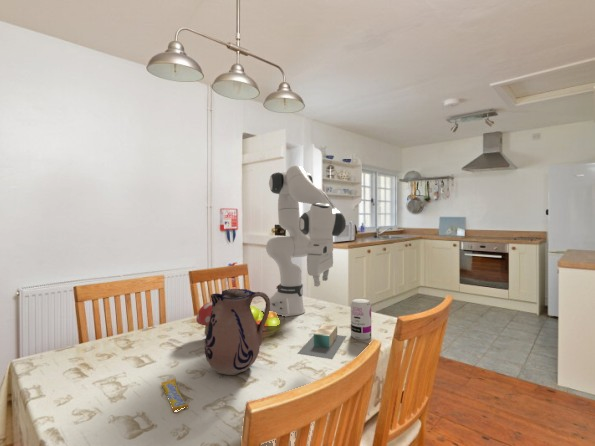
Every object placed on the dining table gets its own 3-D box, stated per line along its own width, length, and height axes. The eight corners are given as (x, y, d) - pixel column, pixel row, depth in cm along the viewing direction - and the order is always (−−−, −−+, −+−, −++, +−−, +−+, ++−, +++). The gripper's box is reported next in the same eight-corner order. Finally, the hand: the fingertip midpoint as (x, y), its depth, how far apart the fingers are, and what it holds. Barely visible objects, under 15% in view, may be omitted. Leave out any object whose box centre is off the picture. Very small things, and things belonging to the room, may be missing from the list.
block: (313, 334, 121) (323, 323, 132) (313, 345, 121) (323, 334, 133) (328, 336, 119) (337, 325, 130) (329, 348, 119) (337, 336, 130)
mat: (297, 354, 115) (297, 353, 115) (316, 332, 136) (316, 332, 136) (332, 359, 110) (332, 359, 110) (346, 337, 131) (346, 336, 131)
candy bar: (189, 411, 83) (189, 404, 83) (172, 417, 81) (172, 409, 81) (175, 383, 97) (175, 376, 97) (160, 387, 95) (160, 380, 95)
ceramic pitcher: (203, 361, 110) (201, 289, 109) (262, 351, 117) (261, 284, 117) (207, 387, 94) (206, 302, 93) (276, 373, 101) (275, 295, 100)
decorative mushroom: (204, 348, 121) (204, 308, 121) (191, 337, 132) (190, 301, 131) (236, 339, 130) (235, 302, 129) (221, 330, 140) (220, 296, 140)
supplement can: (369, 333, 134) (369, 298, 134) (372, 341, 126) (372, 303, 126) (350, 333, 135) (350, 297, 135) (351, 340, 127) (351, 303, 126)
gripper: (321, 243, 130) (321, 276, 131) (303, 249, 111) (303, 288, 112) (336, 243, 128) (336, 278, 129) (321, 250, 109) (321, 290, 110)
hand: (321, 283), depth 120 cm, fingers open, 8 cm apart
